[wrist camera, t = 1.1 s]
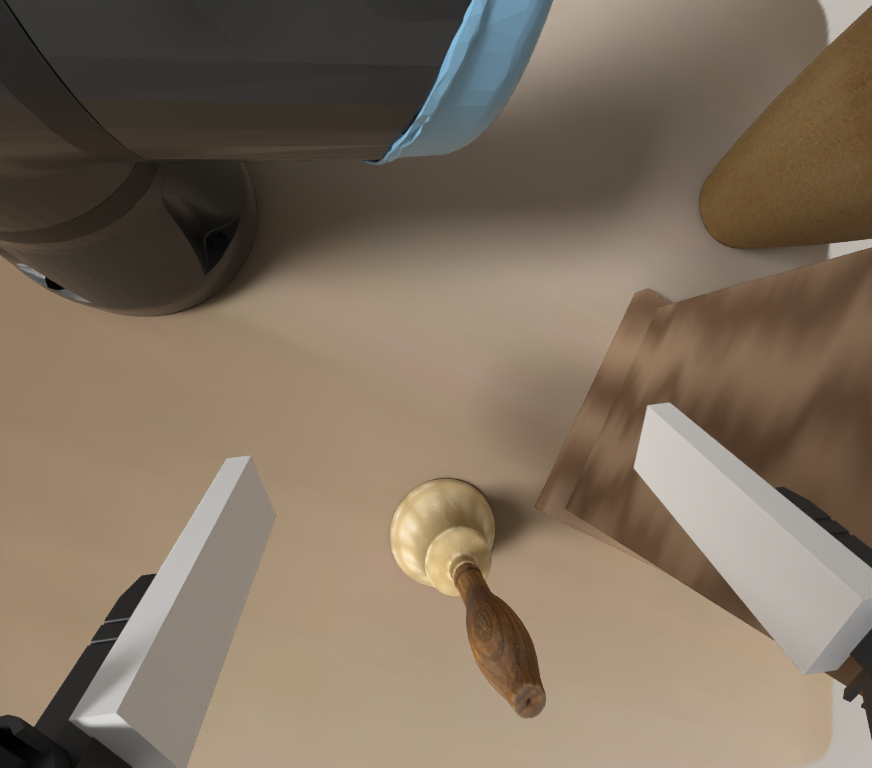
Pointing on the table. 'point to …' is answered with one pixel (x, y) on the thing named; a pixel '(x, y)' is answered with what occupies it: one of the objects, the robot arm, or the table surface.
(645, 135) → the table surface
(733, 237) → the plant pot
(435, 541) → the hand bell
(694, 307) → the walnut stand
